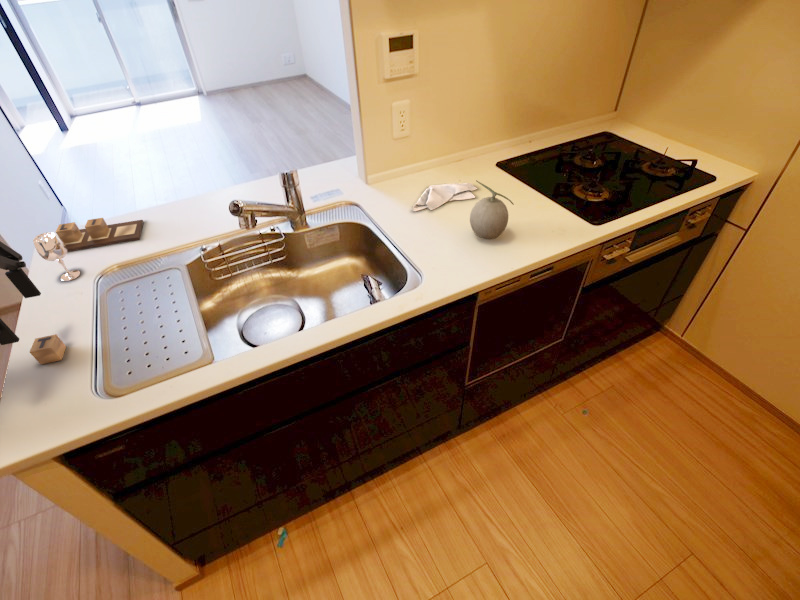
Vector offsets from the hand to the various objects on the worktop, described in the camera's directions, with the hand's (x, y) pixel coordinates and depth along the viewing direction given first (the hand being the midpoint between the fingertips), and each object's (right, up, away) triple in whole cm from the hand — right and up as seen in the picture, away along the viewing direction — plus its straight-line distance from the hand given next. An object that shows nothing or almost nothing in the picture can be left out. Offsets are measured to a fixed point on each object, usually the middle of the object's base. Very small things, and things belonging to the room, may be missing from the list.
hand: (22, 317), depth 84 cm
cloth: (+89, +38, +57) cm, 112 cm away
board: (-13, +22, +41) cm, 48 cm away
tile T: (0, -8, +8) cm, 11 cm away
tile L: (-20, +21, +39) cm, 49 cm away
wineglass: (-12, +10, +28) cm, 32 cm away
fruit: (+100, +22, +40) cm, 110 cm away
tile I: (-13, +23, +40) cm, 48 cm away
